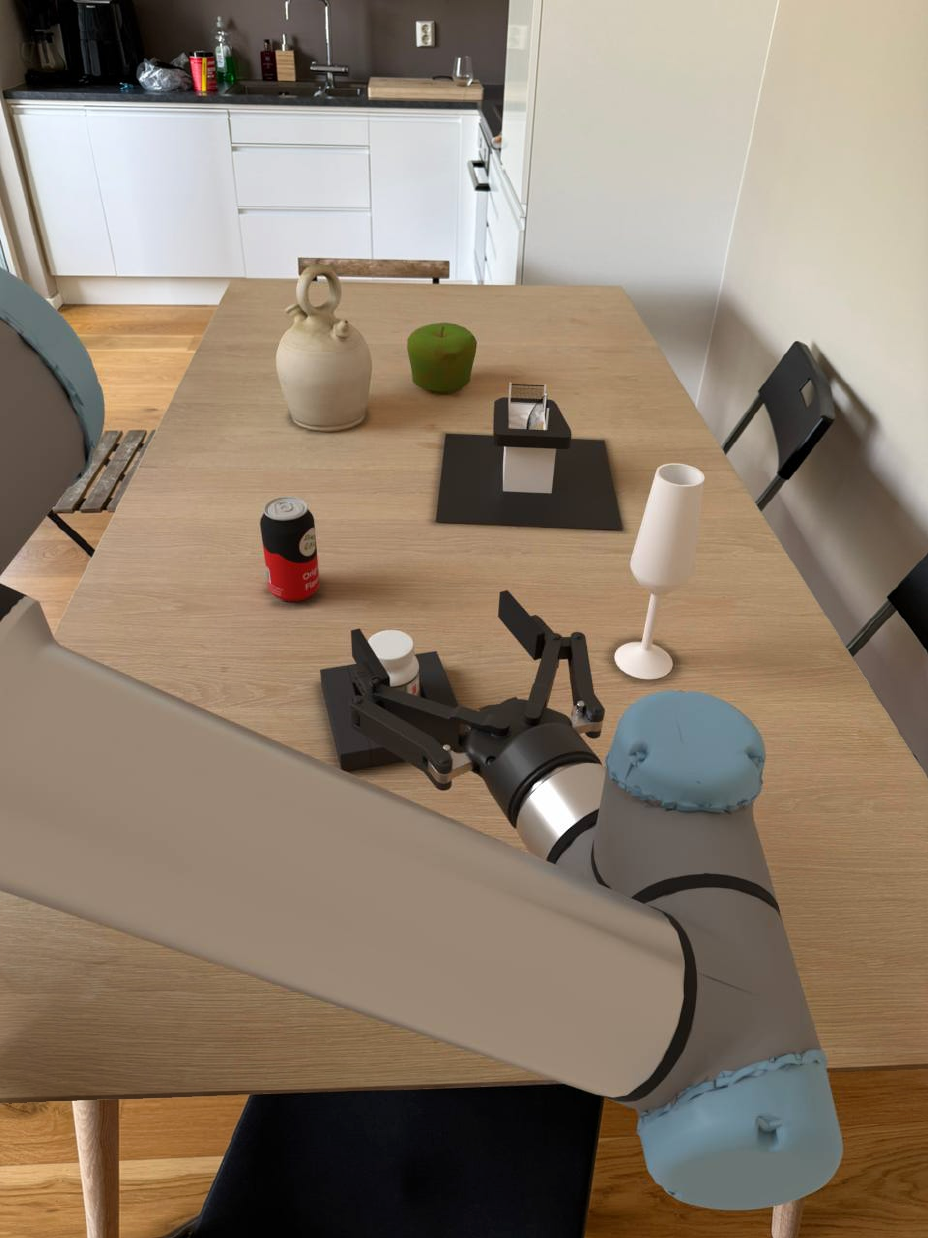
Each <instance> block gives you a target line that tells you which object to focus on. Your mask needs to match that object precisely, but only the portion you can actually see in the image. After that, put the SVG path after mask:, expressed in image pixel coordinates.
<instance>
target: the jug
mask: <svg viewBox="0 0 928 1238" xmlns="http://www.w3.org/2000/svg"><path fill="white" fill-rule="evenodd" d="M319 275H322V276H324V278H325V279H326V280H327V281H326V282H327V283H328V294H327V298H326V300H325V301H324V302H323V303H322V304H321V305H318V306H314V305H312V303H311V302H310V298H309V289H310V286H311V283H312V282H313V281H314V279H315V278H316V277H317V276H319ZM295 288H296V289H295V293H296V295H295V296H296V299H297V302H295V303H292V304H290V305H289V306H287V307H286V308H285V313H286V314H288V315H289V316H290V317H291V318H292V319H293V325H292V326H291V327H289V329H287V330H286V331H285V332H284V334H283V335H282V337H281V339H280V341H279V344H278V346H277V351H276V354H275V355H276V357H275V366H276V373H277V376H278V381H279V385H280V388H281V392H282V394H283V398H284V400H285V403H286V406H287V410H288V412H289V413H290V416H291V419H292V421H293V423H295V424H296V426H298V427H301V428H303V429H305V430H310V431H316V432H326V433H327V432H329V433H330V432H340V431H347V430H349V429H352V428H354V427H356V426H358V425H360V424H361V423H362V422H363V421H364V419H365V417H366V410H367V406H368V401H369V396H370V388H371V381H372V380H371V379H372V372H373V362H372V361H373V360H372V355H371V351H370V350H371V349H370V348H369V345H368V343H367V341H366V339H365V338H364V335H363V334H362V333H361V331H360V330H358V329H357V328H356V327H355V326H353V325H352V324H351V323H350V322H349V321H348V320H347V319H340V318H337V317H336V315H335V311H336V309H337V308H338V307H339V304H340V302H341V299H342V284H341V281H340V278H339V276H338V274H337V273H336V272H335V270H333V268H331V267H329V266H327V265H325V264H323V263H313V264H311V265H309V266H308V267H306V268H305V269H304V270H303V271H302V273H301V274H300V275H299V277H298V280H297V283H296V287H295Z"/></svg>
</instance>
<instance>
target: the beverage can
mask: <svg viewBox="0 0 928 1238" xmlns="http://www.w3.org/2000/svg"><path fill="white" fill-rule="evenodd" d="M315 524H316V523H315V518H314V514H313V513H312V511H310V509H309V506H308V503H307V501H305V500H303V499H302V498H299V497H295V496H281V497H277V498H274V499H271V500H269V501H267V502H266V504H264V506H263V513H262V516H261V517H260V521H259V526H260V535H261V542H262V549H263V557H264V564H265V565H264V566H265V572H266V580H267V587H268V591H269V592H270V593H271V594H272V595H273V596H274V597H275V598H277V599H279V600H282V601H284V602H290V603H292V602H293V603H294V602H295V603H296V602H301V601H305V600H307V599H308V598H310V597H311V596H313V595H314V594H315V593H316V592H317V590H318V589H319V587H320V582H321V581H320V570H319V569H320V568H319V560H318V559H319V558H318V547H317V546H318V545H317V537H316V525H315Z"/></svg>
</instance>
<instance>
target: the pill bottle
mask: <svg viewBox="0 0 928 1238" xmlns="http://www.w3.org/2000/svg"><path fill="white" fill-rule="evenodd" d="M367 641H368V643H369V644H370V646H371V648H372V649H373V651H374V652H375V654H376V656H377V657H378V659H379V660H380V662H381V664H382V665H383V667H384V668H385V670H386V672H387V673H388V675H389V676H390V687H392V688H395V689H398V690H401V691H404V692H407V693H410V694H413V695H416V696H419V697H420V685H419V664H418V660H417V658H416V657H415V655H414V654H415V644H414V639H413V638H412V637H411V636H410V635H409V634H408V633H407V632H404V631H401V630H396V629H385V630H381V631H378V632H376V633H374V634H373V635H371V636H370V637H369V639H367Z"/></svg>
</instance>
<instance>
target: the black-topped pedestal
mask: <svg viewBox="0 0 928 1238" xmlns="http://www.w3.org/2000/svg"><path fill="white" fill-rule="evenodd" d="M508 389H509V390H508V391H509V392H508V396H507V397H506V396H503V397H500V398H498V399H495V400H494V401H493V421H492V422H493V423H492V427H493V428H492V435H489V434H470V433H469V434H466V433H445V436H444V445H443V454H442V462H441V470H440V478H439V479H440V480H439V490H438V497H437V506H436V514H435V523H453V524H454V523H455V524H477V525H478V524H479V525H499V526H501V525H502V526H522V527H523V526H524V527H525V526H526V527H543V528H544V527H546V528H549V527H550V528H565V529H567V528H569V529H570V528H571V529H590V530H593V529H594V530H613V531H614V530H616V531H623V527H622V523H621V517H620V512H619V508H618V503H617V498H616V493H615V487H614V482H613V478H612V471H611V468H610V463H609V457H608V452H607V448H606V442H605V440H604V439H583V438H572V435H573V434H572V430H571V427H570V425H569V424H568V422H567V421H566V418H565V417H564V415H563V413H562V411H561V410H560V408H559V406H558V404H557V403H556V401H555V400H553V399H549V398H548V395H549V394H548V393H547V384H527V383H512V382H509V388H508ZM541 423H542V425H543V429H537V428H538V427H539V425H540V424H541Z"/></svg>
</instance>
